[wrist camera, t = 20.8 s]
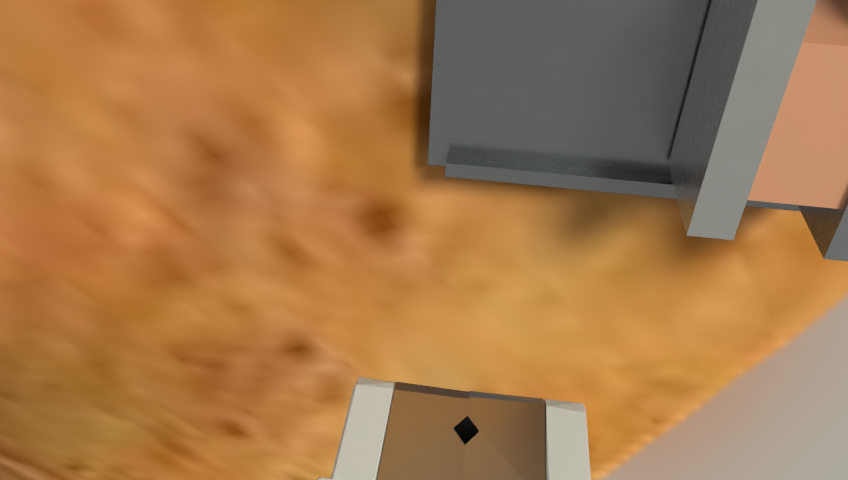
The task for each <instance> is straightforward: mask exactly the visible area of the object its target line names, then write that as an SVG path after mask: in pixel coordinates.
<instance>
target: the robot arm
mask: <svg viewBox="0 0 848 480" xmlns="http://www.w3.org/2000/svg"><path fill="white" fill-rule="evenodd" d="M317 480H591V476H590V462H589V448H588V433H587V419H586V409H585V407H584V405H583V403H574V402H565V401H556V400H547V399H545V400H543V399H541V398H531V397H522V396H512V395H502V394H493V393H483V392H474V391H469V392H466V391H459V390H452V389H444V388H437V387H430V386H423V385H416V384H409V383H402V382H391V381H383V380H376V379H369V378H362V377H359V378H358V380H357V382H356V384H355V386H354V389H353V393H352V397H351V400H350V404H349V408H348V412H347V416H346V420H345V424H344V428H343V432H342V436H341V440H340V444H339V448H338V452H337V456H336V459H335V463H334V467H333V471H332V475H331V478H322V477H319V478H318V479H317Z"/></svg>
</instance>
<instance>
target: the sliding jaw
mask: <svg viewBox="0 0 848 480" xmlns="http://www.w3.org/2000/svg"><path fill="white" fill-rule="evenodd" d="M816 1H817V0H712V2H711V5H710V9H709V13H708V17H707V20H706V24H705V28H704V32H703V35H702V39H701V43H700V47H699V50H698V54H697V58H696V62H695V65H694V69H693V73H692V77H691V80H690V84H689V88H688V92H687V95H686V99H685V103H684V107H683V110H682V114H681V118H680V122H679V125H678V129H677V133H676V137H675V140H674V144H673V148H672V152H671V155H670V159H669V163H668V167H669V171H670V175H671V179H672V182H673V186H674V190H675V194H676V197H677V201H678V205H679V209H680V213H681V216H682V220H683V224H684V228H685V231H686V235H687V236H696V237H706V238H716V239H726V240H734V237H735V234H736V231H737V228H738V225H739V222H740V220H741V217H742V214H743V211H744V208H745V205H746V202H747V200H748V197H749V194H750V191H751V188H752V185H753V182H754V179H755V177H756V174H757V171H758V168H759V165H760V162H761V159H762V156H763V154H764V151H765V148H766V145H767V142H768V139H769V136H770V134H771V131H772V128H773V125H774V122H775V119H776V116H777V113H778V111H779V108H780V105H781V102H782V99H783V96H784V93H785V90H786V88H787V85H788V82H789V79H790V76H791V73H792V70H793V68H794V65H795V62H796V59H797V56H798V53H799V50H800V47H801V45H802V42H803V39H804V36H805V33H806V30H807V27H808V24H809V22H810V19H811V16H812V13H813V10H814V7H815V4H816Z"/></svg>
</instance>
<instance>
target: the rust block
mask: <svg viewBox="0 0 848 480" xmlns="http://www.w3.org/2000/svg"><path fill="white" fill-rule="evenodd" d="M847 196H848V0H817V1H816V4H815V7H814V10H813V13H812V16H811V19H810V22H809V24H808V27H807V30H806V33H805V36H804V39H803V42H802V45H801V47H800V50H799V53H798V56H797V59H796V62H795V65H794V68H793V70H792V73H791V76H790V79H789V82H788V85H787V88H786V90H785V93H784V96H783V99H782V102H781V105H780V108H779V111H778V113H777V116H776V119H775V122H774V125H773V128H772V131H771V134H770V136H769V139H768V142H767V145H766V148H765V151H764V154H763V156H762V159H761V162H760V165H759V168H758V171H757V174H756V177H755V179H754V182H753V185H752V188H751V191H750V194H749V197H748V200H751V201H762V202H772V203H782V204H793V205H803V206H813V207H824V208H834V209H842V208H843V205H844V203H845V201H846V198H847Z"/></svg>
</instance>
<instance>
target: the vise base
mask: <svg viewBox="0 0 848 480" xmlns="http://www.w3.org/2000/svg"><path fill="white" fill-rule="evenodd" d="M711 2H712V0H436V16H435V35H434V54H433V73H432V92H431V111H430V130H429V148H428V165H436V166H446V168H445V177H455V178H465V179H475V180H485V181H496V182H506V183H516V184H526V185H537V186H547V187H557V188H568V189H578V190H588V191H598V192H609V193H619V194H629V195H639V196H650V197H660V198H670V199H677V197H676V194H675V190H674V186H673V182H672V179H671V175H670V171H669V167H668V163H669V159H670V155H671V152H672V148H673V144H674V140H675V137H676V133H677V129H678V125H679V122H680V118H681V114H682V110H683V107H684V103H685V99H686V95H687V92H688V88H689V84H690V80H691V77H692V73H693V69H694V65H695V62H696V58H697V54H698V50H699V47H700V43H701V39H702V35H703V32H704V28H705V24H706V20H707V17H708V13H709V9H710V5H711ZM745 206H752V207H762V208H773V209H783V210H793V211H801V213H802V215H803V217H804V219H805V221H806V223H807V225H808V227H809V229H810V231H811V233H812V235H813V238H814V240H815V242H816V244H817V246H818V248H819V250H820V252H821V254H822V256H823V258H824V259H830V260H840V261H848V196H847V198H846V201H845V203H844V205H843V208H842V209H834V208H824V207H813V206H803V205H793V204H782V203H772V202H762V201H751V200H747V202H746V205H745Z"/></svg>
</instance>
